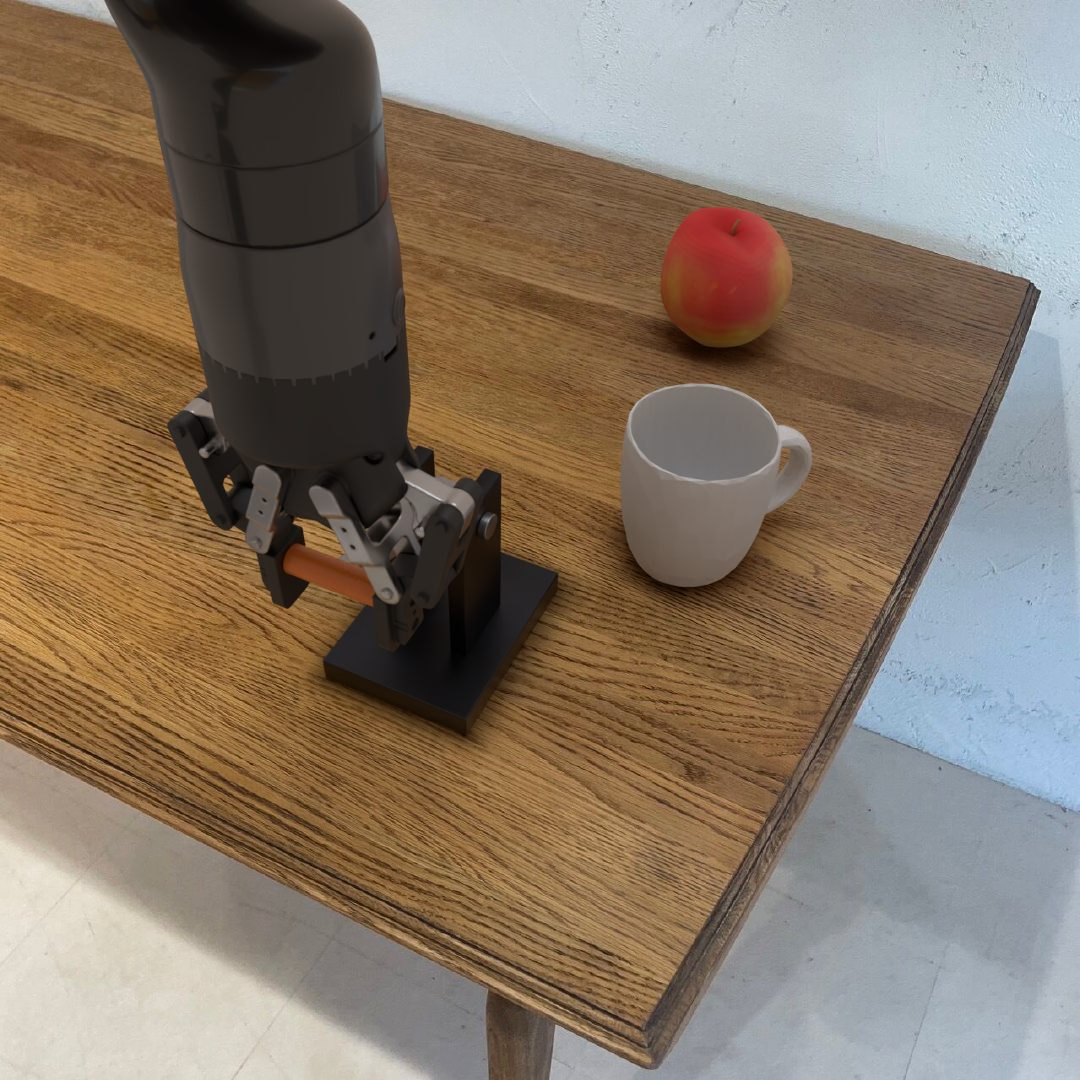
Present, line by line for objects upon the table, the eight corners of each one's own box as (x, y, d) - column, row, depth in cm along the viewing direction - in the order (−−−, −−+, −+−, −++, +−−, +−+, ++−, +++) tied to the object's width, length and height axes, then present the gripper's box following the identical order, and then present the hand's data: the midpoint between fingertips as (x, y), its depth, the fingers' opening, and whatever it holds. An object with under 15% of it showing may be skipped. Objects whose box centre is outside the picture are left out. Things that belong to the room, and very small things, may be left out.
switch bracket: (466, 736, 62) (462, 590, 53) (325, 677, 64) (299, 529, 56) (558, 589, 70) (567, 441, 61) (428, 541, 72) (420, 393, 64)
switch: (375, 624, 50) (382, 576, 49) (280, 586, 52) (285, 539, 51) (490, 536, 61) (498, 495, 60) (408, 506, 62) (414, 466, 61)
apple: (696, 386, 84) (715, 268, 77) (630, 318, 90) (642, 203, 83) (802, 353, 87) (829, 237, 80) (732, 290, 93) (751, 176, 86)
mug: (655, 622, 68) (675, 500, 61) (588, 525, 73) (598, 403, 66) (831, 561, 72) (869, 440, 65) (754, 473, 78) (781, 353, 70)
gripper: (69, 308, 41) (168, 618, 53) (423, 427, 36) (441, 732, 49) (199, 212, 45) (262, 516, 57) (524, 307, 41) (518, 613, 53)
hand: (344, 614), depth 53 cm, fingers closed on switch, 5 cm apart
